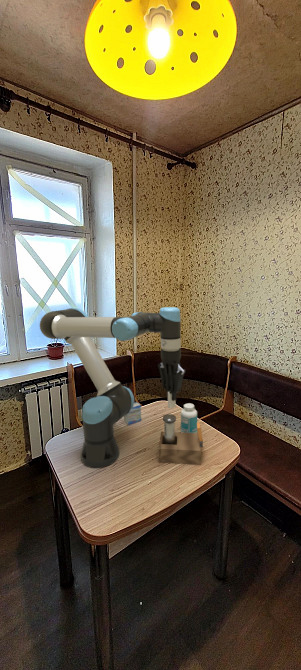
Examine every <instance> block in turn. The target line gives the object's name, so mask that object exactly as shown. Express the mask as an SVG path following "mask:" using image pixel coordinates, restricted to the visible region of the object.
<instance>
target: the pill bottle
mask: <svg viewBox="0 0 301 670" xmlns="http://www.w3.org/2000/svg"><path fill="white" fill-rule="evenodd" d="M197 423H198V410H196V408H195V405H194V404H193V403H190V402H189V403H185V404H183V408H182V409H181V411H180V432H183V433H198V429H197Z"/></svg>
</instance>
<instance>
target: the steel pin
mask: <svg viewBox="0 0 301 670" xmlns="http://www.w3.org/2000/svg"><path fill="white" fill-rule="evenodd" d="M162 421H163V422H164V432H165V444H169V445H175V432H176V431H175V423H176V421H177V416H176V415H174V414H171V413H169V414H164V415H163V416H162Z"/></svg>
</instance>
